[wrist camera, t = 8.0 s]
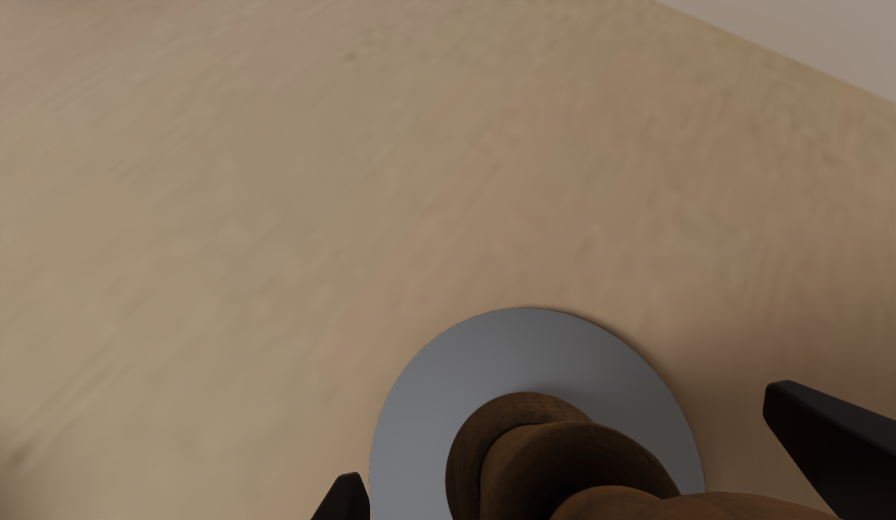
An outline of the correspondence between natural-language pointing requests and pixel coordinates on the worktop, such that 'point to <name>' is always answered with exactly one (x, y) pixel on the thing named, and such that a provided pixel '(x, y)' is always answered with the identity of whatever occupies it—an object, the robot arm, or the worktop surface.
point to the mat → (508, 371)
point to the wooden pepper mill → (575, 472)
